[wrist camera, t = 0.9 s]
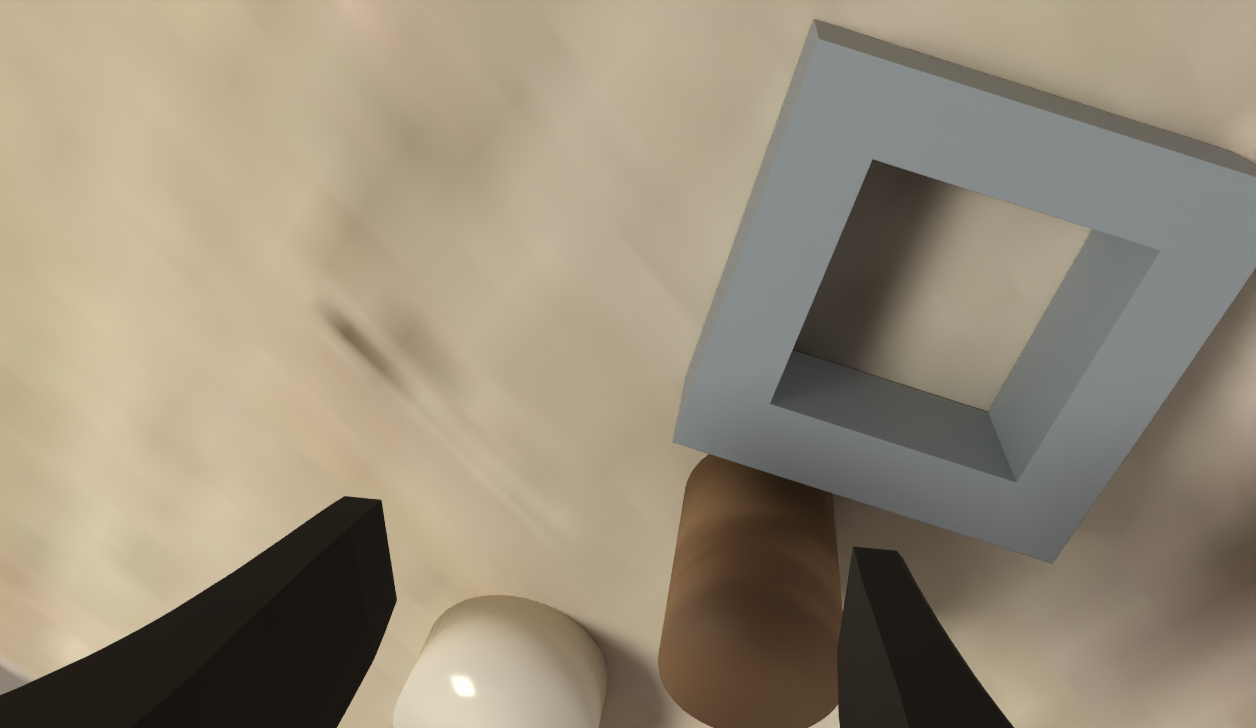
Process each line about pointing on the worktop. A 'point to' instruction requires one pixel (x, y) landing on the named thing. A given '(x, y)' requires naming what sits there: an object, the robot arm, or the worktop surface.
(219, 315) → the worktop surface
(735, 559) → the walnut dowel
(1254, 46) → the worktop surface
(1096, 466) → the socket board
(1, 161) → the worktop surface
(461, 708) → the ivory rounded cylinder
